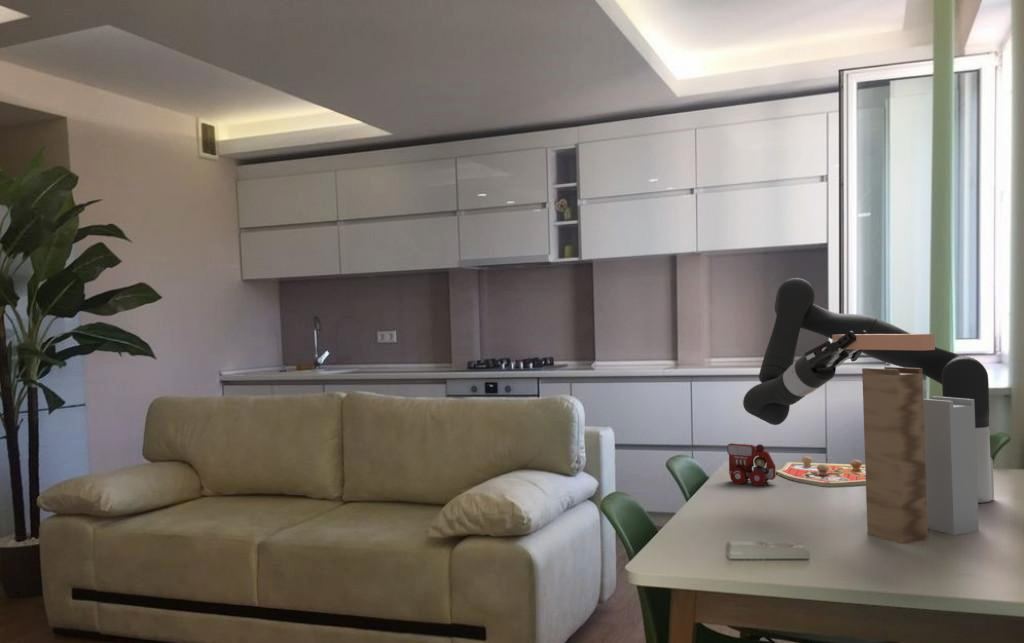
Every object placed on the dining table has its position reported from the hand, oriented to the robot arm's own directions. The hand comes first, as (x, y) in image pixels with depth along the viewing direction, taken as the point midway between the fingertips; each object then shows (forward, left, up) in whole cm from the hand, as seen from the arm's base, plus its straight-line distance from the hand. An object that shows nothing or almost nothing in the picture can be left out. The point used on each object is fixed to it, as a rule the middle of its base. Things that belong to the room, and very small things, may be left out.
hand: (860, 334), depth 159 cm
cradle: (-14, +8, -40) cm, 43 cm away
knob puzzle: (-34, -43, -40) cm, 68 cm away
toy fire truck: (-10, -47, -40) cm, 63 cm away
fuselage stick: (0, +5, -3) cm, 6 cm away
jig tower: (0, +8, -40) cm, 40 cm away
